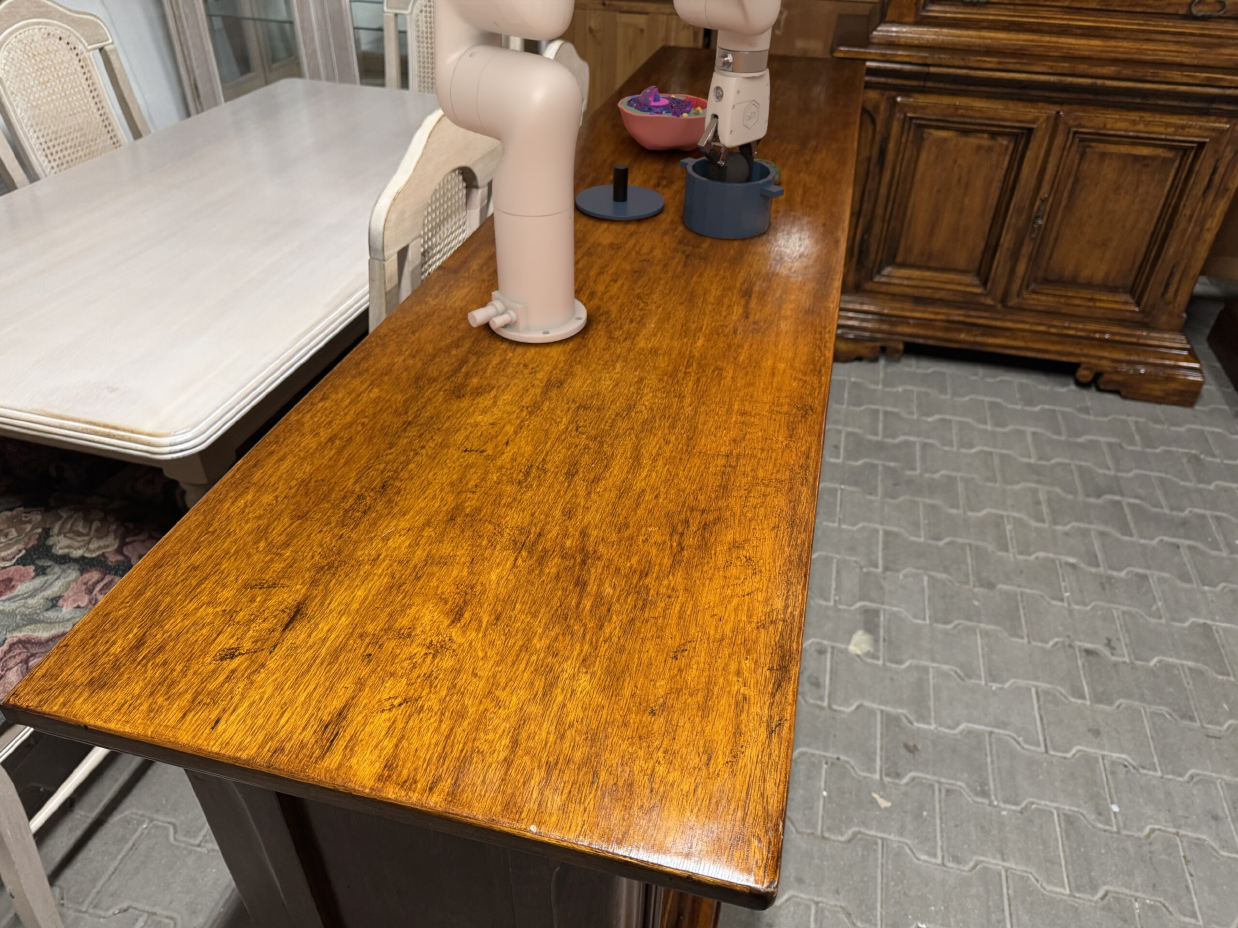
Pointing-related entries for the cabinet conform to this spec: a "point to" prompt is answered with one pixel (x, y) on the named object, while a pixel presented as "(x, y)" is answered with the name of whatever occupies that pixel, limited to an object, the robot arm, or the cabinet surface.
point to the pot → (728, 201)
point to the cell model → (664, 119)
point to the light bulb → (736, 168)
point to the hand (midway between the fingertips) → (728, 183)
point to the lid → (620, 199)
